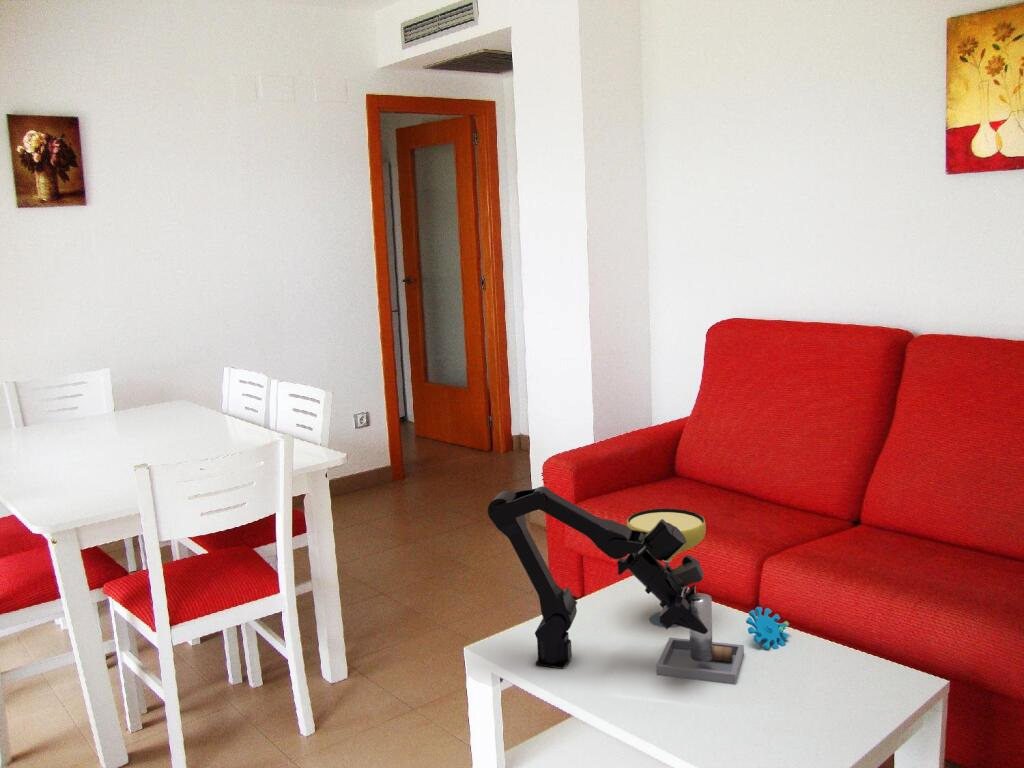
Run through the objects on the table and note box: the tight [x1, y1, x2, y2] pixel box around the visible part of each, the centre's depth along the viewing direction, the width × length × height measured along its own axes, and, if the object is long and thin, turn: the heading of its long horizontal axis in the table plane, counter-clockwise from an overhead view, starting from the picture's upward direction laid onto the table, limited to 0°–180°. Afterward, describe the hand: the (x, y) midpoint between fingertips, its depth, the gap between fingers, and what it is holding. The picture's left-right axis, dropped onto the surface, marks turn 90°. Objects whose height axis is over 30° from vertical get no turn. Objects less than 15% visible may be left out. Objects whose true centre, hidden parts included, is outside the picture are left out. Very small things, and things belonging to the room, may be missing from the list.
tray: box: [656, 636, 745, 685], centre depth 201 cm, size 16×14×3 cm
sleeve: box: [689, 592, 713, 662], centre depth 197 cm, size 5×5×13 cm
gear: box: [745, 606, 790, 650], centre depth 211 cm, size 11×6×10 cm
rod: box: [711, 645, 733, 662], centre depth 202 cm, size 7×3×3 cm, turn 70°
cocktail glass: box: [626, 508, 707, 629], centre depth 222 cm, size 18×18×25 cm
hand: (707, 627), depth 197 cm, fingers closed on sleeve, 5 cm apart
